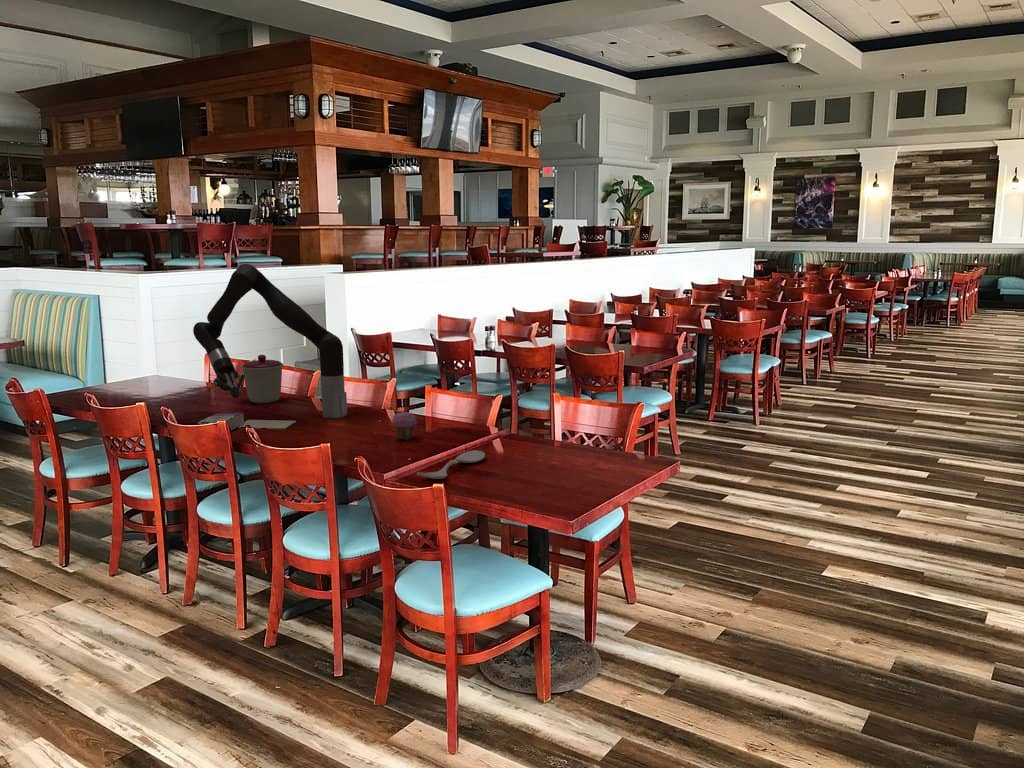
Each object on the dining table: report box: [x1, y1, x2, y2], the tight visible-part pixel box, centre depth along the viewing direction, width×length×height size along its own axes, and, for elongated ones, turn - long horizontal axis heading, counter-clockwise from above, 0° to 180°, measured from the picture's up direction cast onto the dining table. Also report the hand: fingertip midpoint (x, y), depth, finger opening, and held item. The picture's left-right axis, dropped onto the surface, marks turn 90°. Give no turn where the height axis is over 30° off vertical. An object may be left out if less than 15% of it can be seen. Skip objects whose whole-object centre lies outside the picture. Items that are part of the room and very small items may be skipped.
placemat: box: [237, 419, 297, 430], centre depth 323 cm, size 20×12×1 cm, turn 83°
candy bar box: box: [197, 411, 245, 432], centre depth 316 cm, size 11×5×16 cm
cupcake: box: [392, 411, 418, 441], centre depth 299 cm, size 9×9×10 cm
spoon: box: [416, 449, 486, 480], centre depth 261 cm, size 9×32×4 cm, turn 154°
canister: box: [240, 354, 284, 404], centre depth 365 cm, size 18×18×21 cm
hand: (237, 397), depth 321 cm, fingers closed
